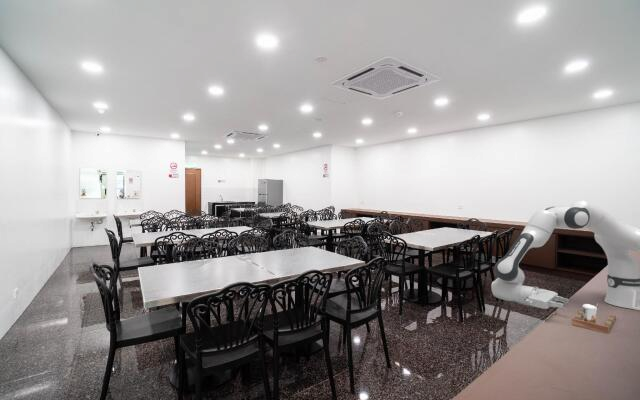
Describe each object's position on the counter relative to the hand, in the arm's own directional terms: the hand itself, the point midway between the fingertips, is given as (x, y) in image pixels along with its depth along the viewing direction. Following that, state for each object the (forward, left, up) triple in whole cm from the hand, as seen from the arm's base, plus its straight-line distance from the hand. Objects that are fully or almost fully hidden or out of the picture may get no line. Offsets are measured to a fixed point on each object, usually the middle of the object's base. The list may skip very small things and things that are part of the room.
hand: (565, 303), depth 134 cm
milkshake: (-5, +7, -7) cm, 11 cm away
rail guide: (-11, +1, -7) cm, 13 cm away
